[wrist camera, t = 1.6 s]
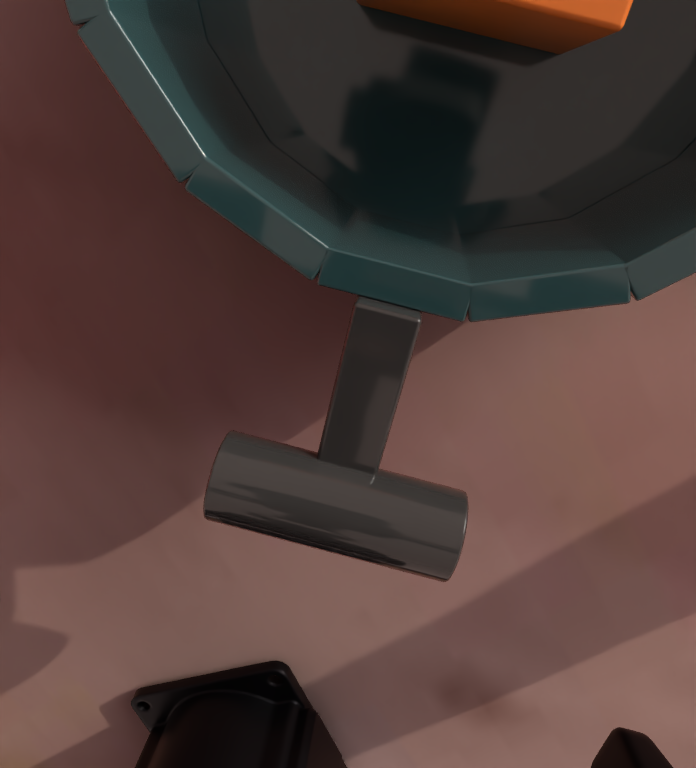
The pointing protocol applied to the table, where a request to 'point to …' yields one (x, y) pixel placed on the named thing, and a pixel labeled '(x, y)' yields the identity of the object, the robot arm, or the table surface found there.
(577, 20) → the cube
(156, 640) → the table surface
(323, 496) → the saucepan
